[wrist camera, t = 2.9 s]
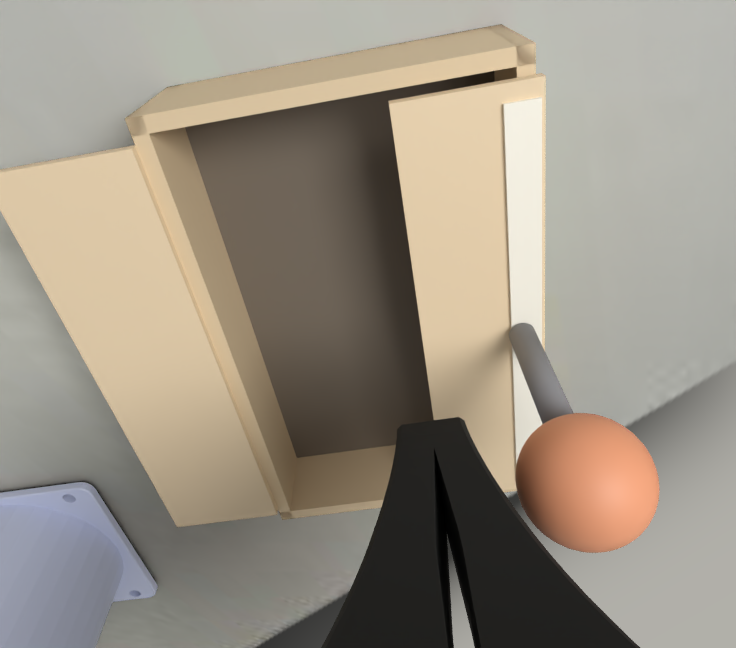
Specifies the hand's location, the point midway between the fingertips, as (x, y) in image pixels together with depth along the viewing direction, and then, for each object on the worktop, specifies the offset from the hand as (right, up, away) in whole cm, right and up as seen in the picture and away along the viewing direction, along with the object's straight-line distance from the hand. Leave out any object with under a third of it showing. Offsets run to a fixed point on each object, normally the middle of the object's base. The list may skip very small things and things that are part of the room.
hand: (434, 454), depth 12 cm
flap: (+2, +3, +4) cm, 5 cm away
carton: (-3, +4, +7) cm, 8 cm away
